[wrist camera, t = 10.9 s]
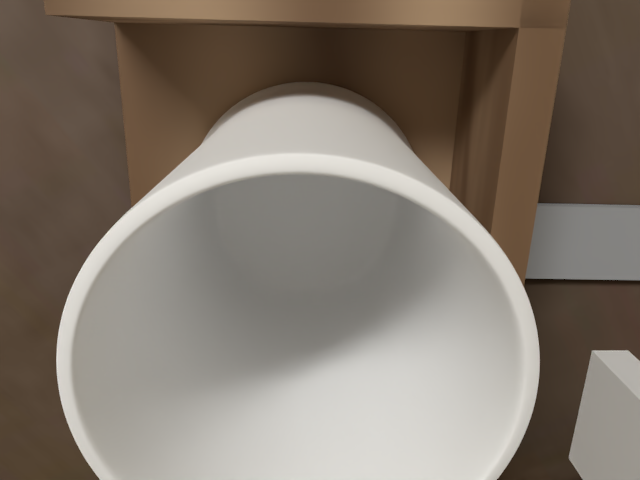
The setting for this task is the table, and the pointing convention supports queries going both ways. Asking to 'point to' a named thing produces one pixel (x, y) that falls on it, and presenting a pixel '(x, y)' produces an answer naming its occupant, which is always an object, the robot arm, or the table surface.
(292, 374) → the mug
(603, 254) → the grey rectangular slab
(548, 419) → the table surface
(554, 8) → the keeper cradle
